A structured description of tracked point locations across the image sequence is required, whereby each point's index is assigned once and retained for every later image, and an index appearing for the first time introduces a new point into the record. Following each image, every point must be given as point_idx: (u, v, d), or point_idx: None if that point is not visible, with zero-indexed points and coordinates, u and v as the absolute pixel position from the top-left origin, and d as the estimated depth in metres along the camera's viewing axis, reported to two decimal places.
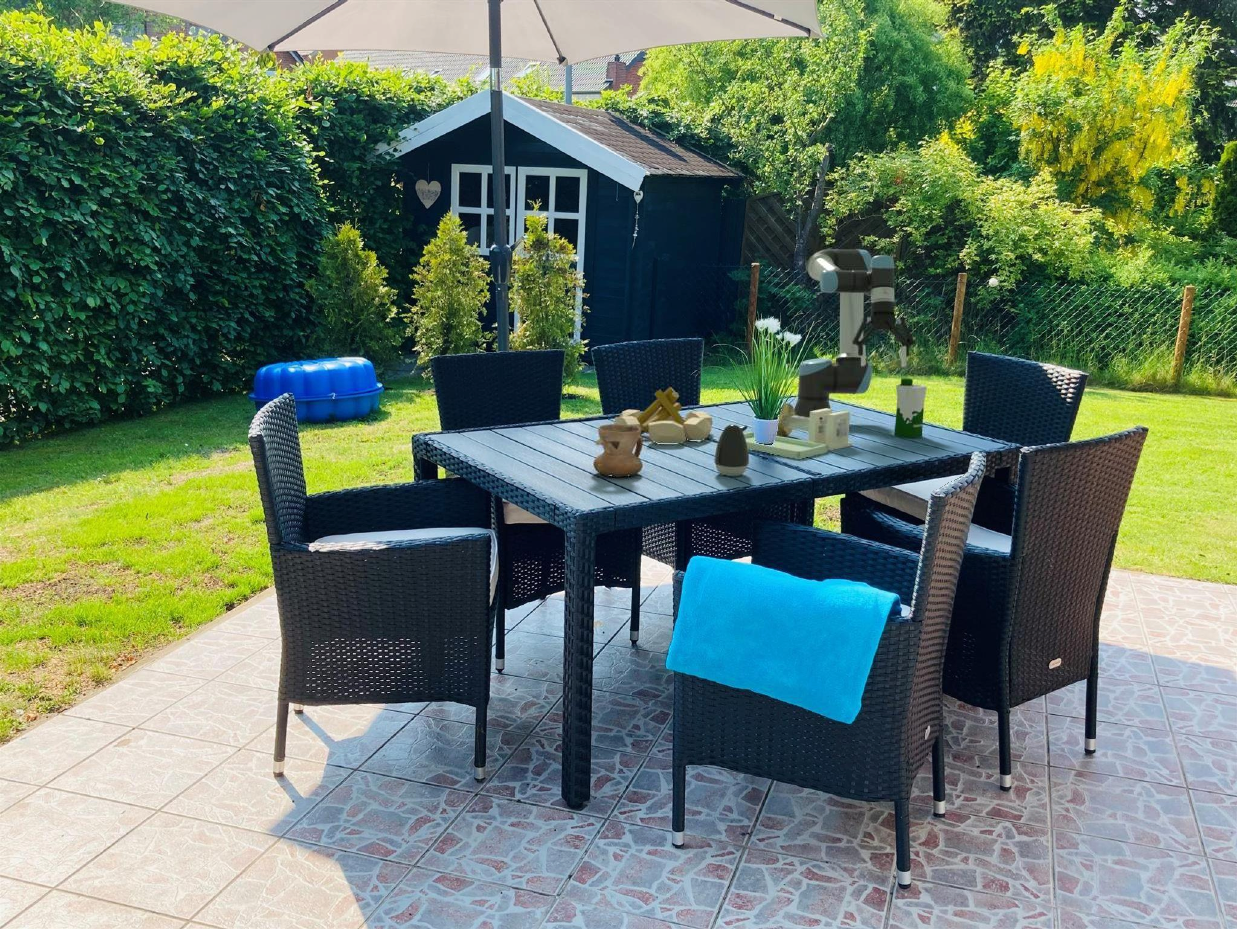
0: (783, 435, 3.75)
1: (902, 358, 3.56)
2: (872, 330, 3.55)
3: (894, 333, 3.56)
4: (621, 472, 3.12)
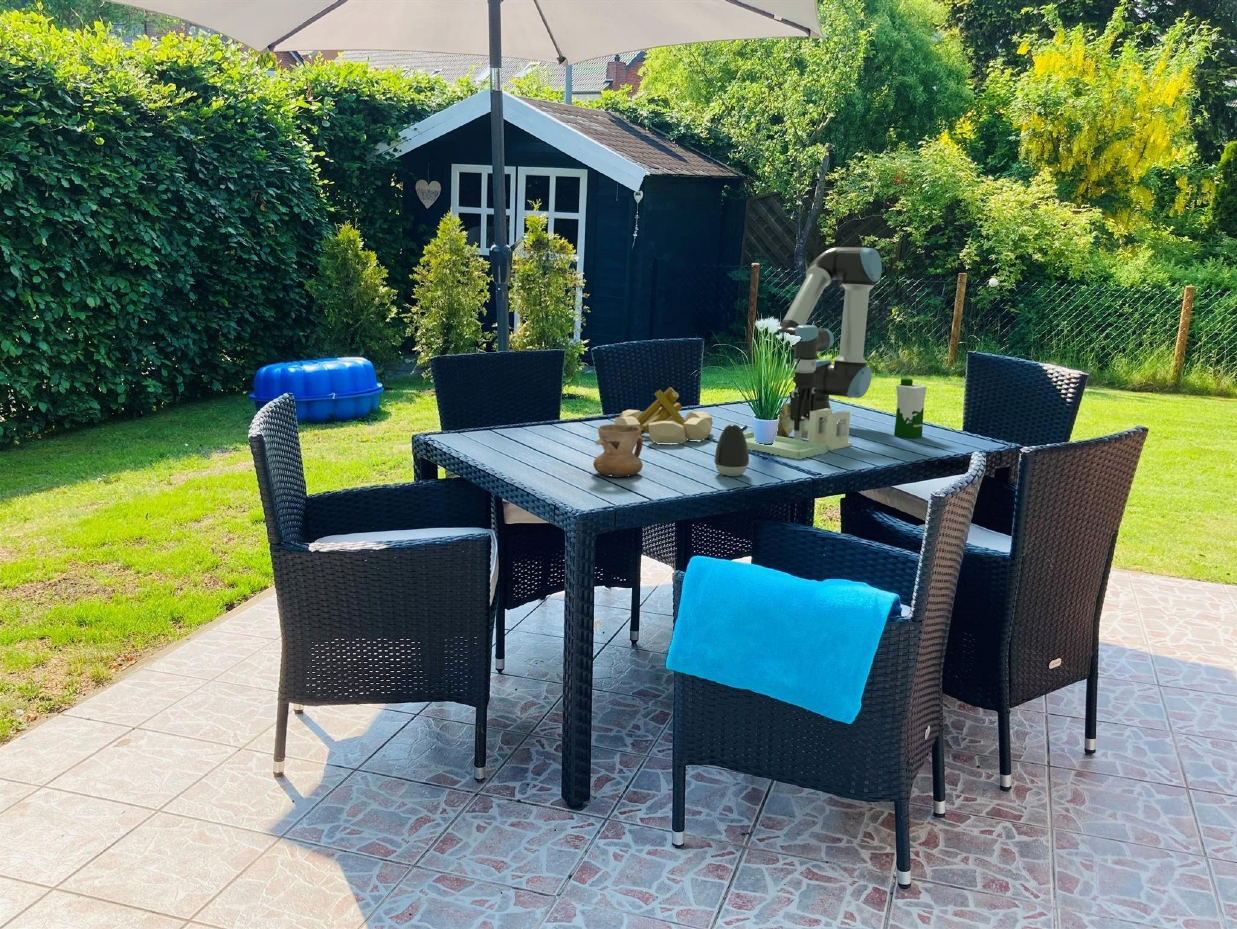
0: (783, 435, 3.75)
1: None
2: (802, 403, 3.66)
3: (805, 402, 3.70)
4: (621, 472, 3.12)
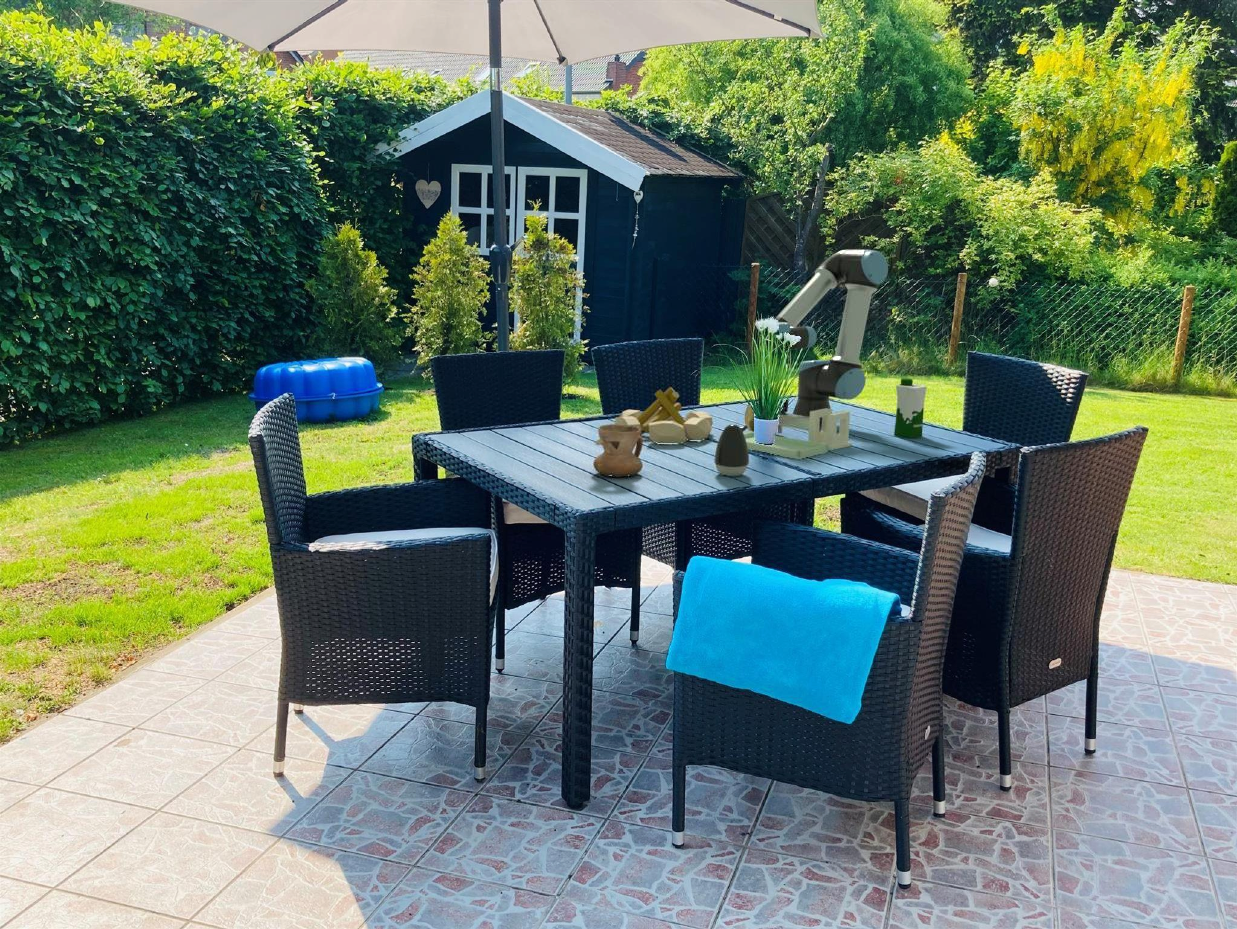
0: None
1: None
2: None
3: None
4: (621, 472, 3.12)
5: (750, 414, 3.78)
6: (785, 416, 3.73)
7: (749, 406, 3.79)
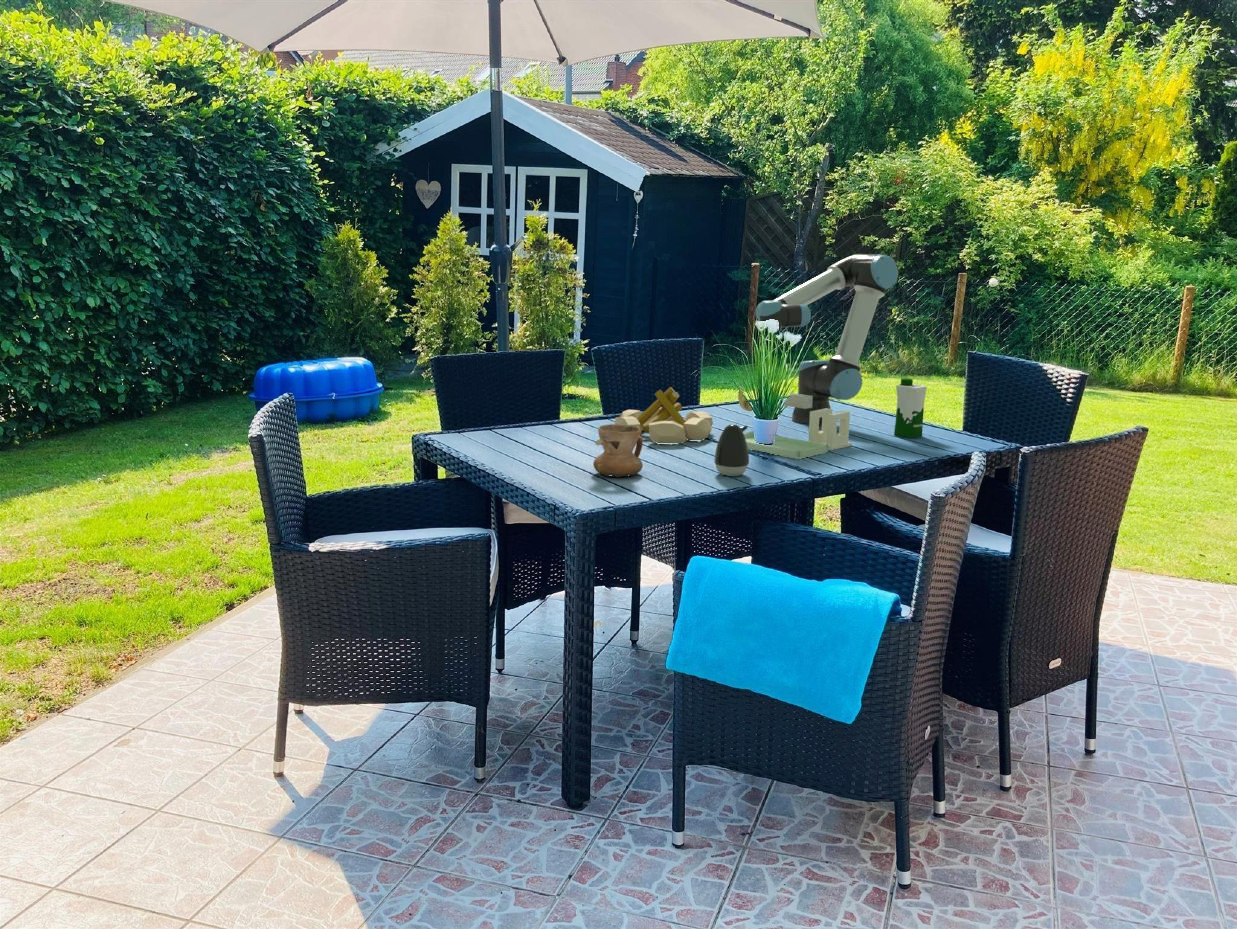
0: (751, 409, 3.84)
1: None
2: None
3: None
4: (621, 472, 3.12)
5: None
6: None
7: None
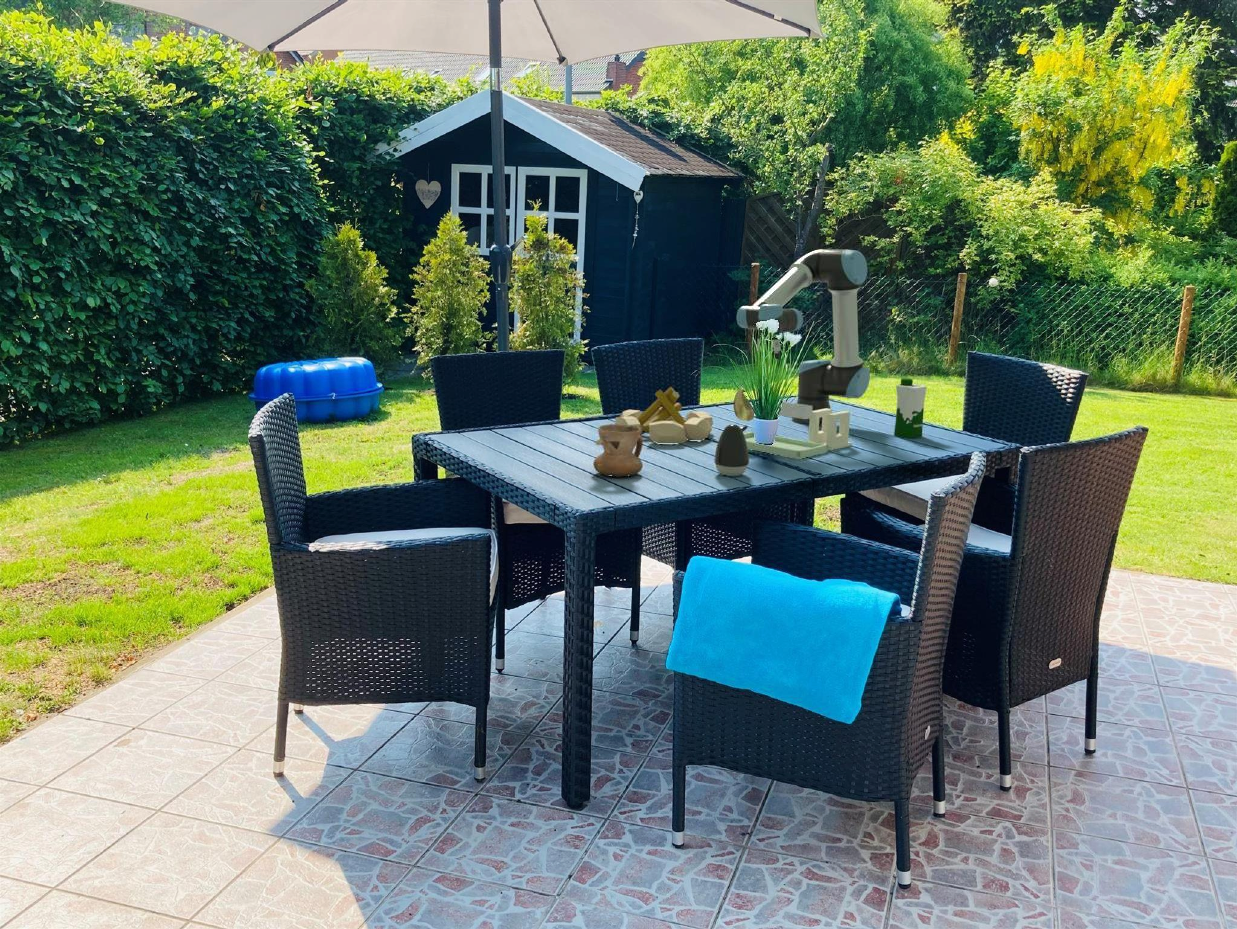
0: (747, 418, 3.62)
1: None
2: None
3: None
4: (621, 472, 3.12)
5: (739, 401, 3.58)
6: None
7: (738, 393, 3.59)
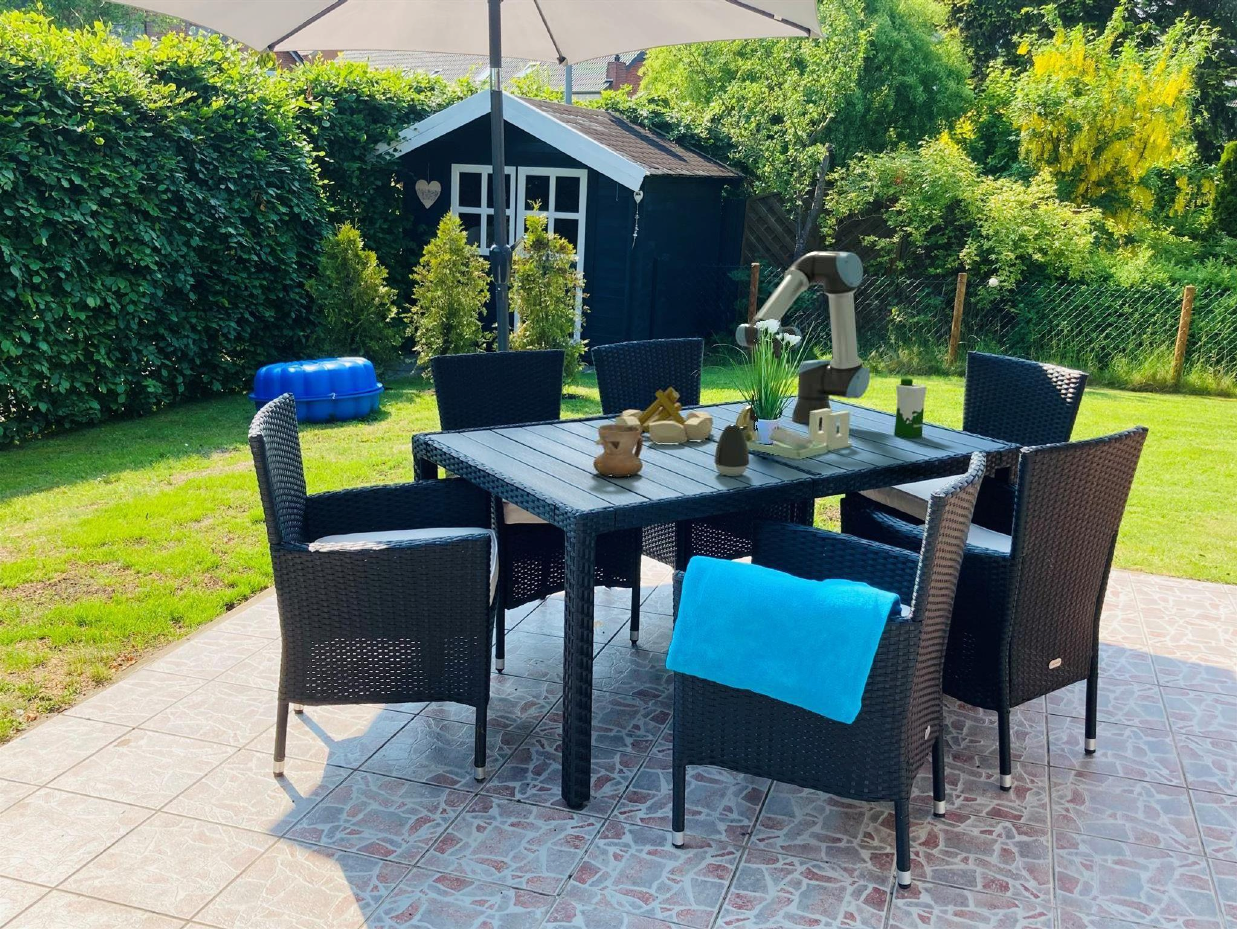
0: (747, 438, 3.64)
1: None
2: None
3: None
4: (621, 472, 3.12)
5: (741, 422, 3.59)
6: (778, 431, 3.53)
7: (742, 413, 3.59)
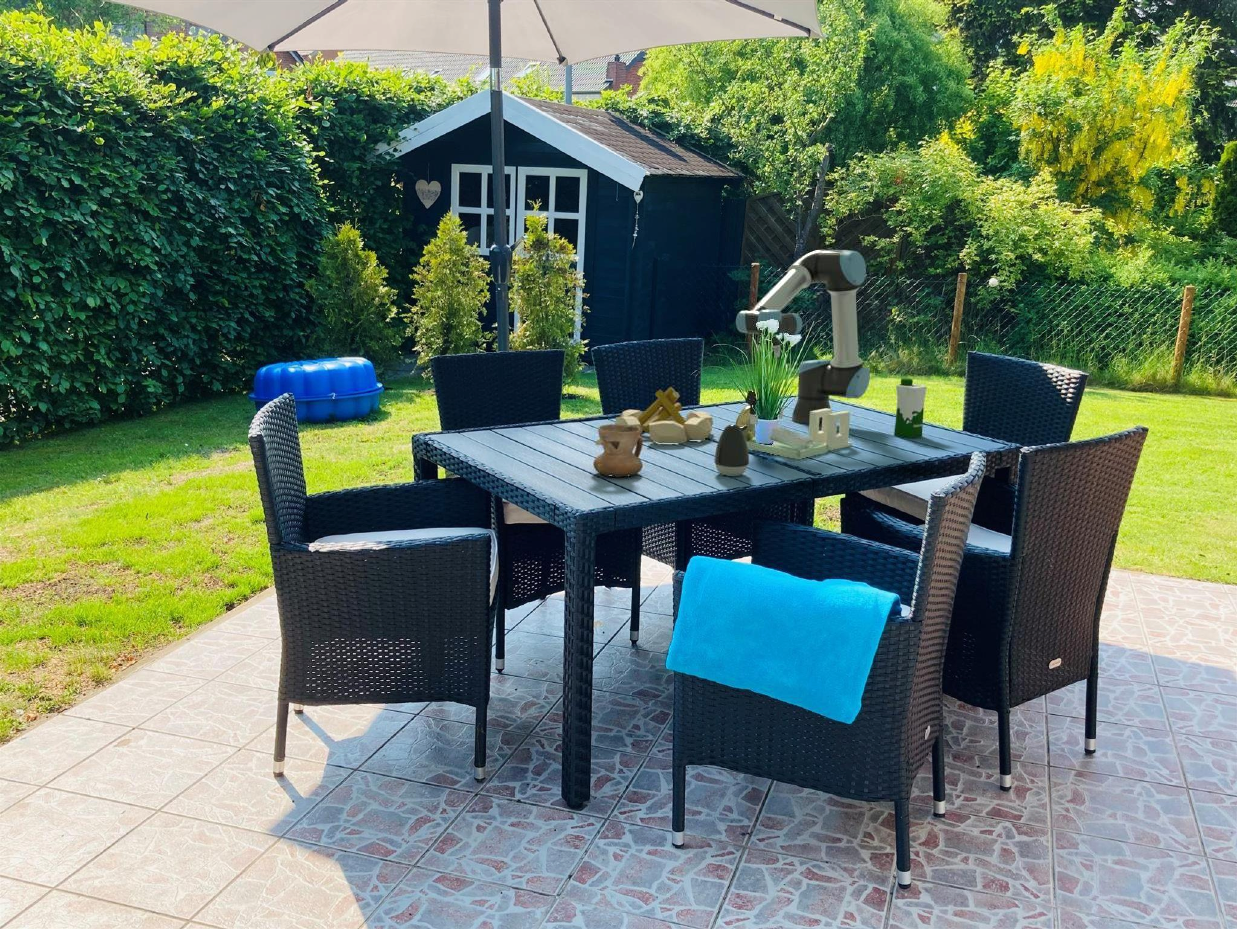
0: (747, 438, 3.64)
1: None
2: None
3: None
4: (621, 472, 3.12)
5: (741, 422, 3.59)
6: (778, 431, 3.53)
7: (742, 414, 3.59)
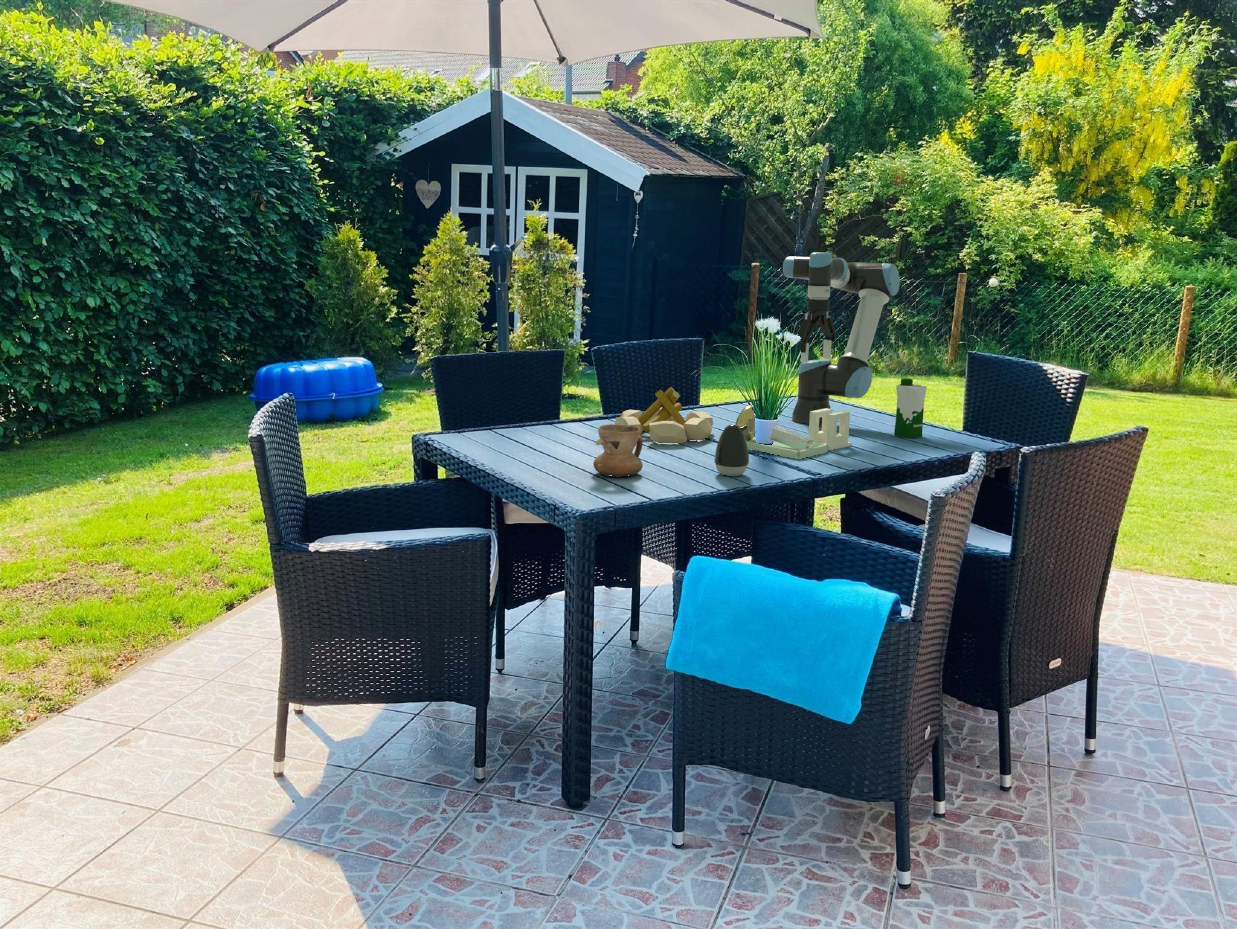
0: (747, 438, 3.64)
1: (825, 351, 3.77)
2: (813, 327, 3.67)
3: (823, 328, 3.73)
4: (621, 472, 3.12)
5: (741, 422, 3.59)
6: (778, 431, 3.53)
7: (742, 414, 3.59)
